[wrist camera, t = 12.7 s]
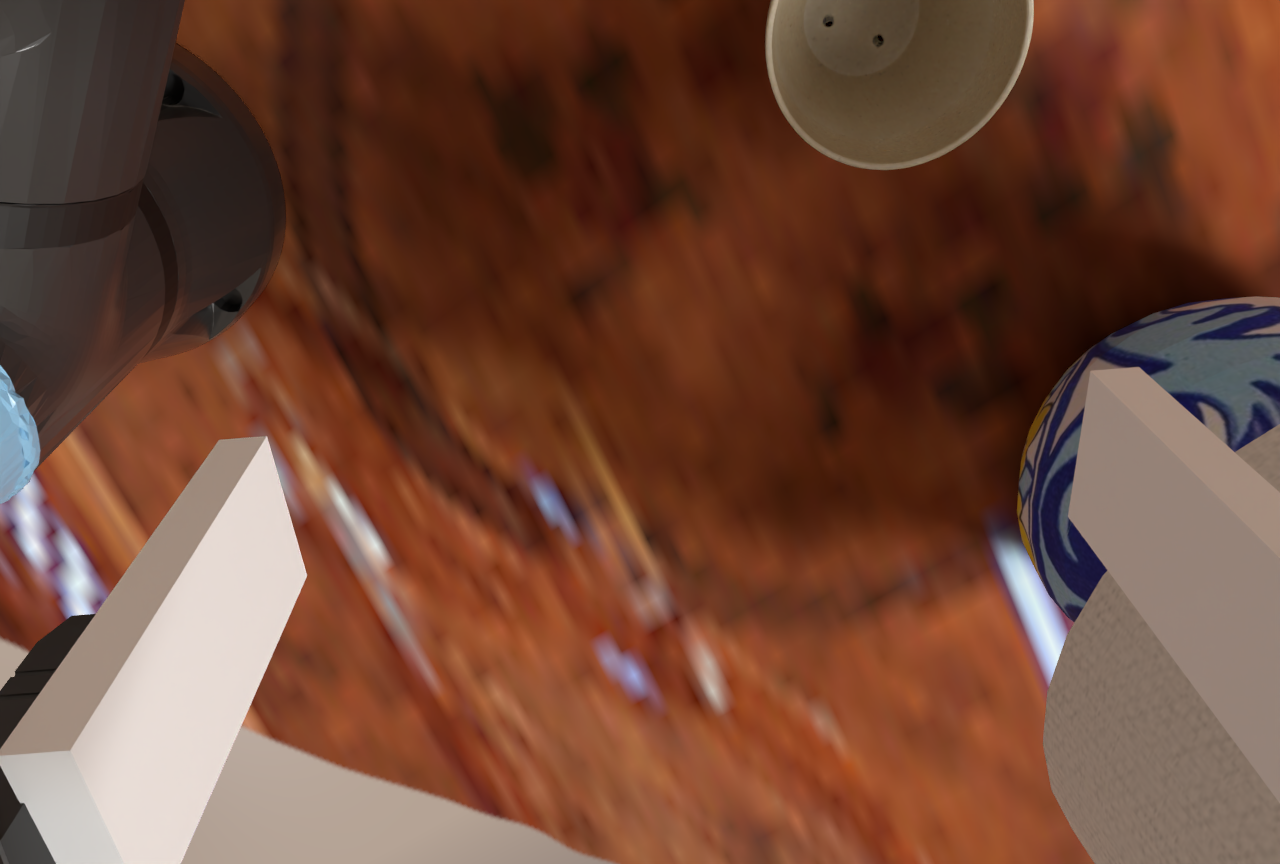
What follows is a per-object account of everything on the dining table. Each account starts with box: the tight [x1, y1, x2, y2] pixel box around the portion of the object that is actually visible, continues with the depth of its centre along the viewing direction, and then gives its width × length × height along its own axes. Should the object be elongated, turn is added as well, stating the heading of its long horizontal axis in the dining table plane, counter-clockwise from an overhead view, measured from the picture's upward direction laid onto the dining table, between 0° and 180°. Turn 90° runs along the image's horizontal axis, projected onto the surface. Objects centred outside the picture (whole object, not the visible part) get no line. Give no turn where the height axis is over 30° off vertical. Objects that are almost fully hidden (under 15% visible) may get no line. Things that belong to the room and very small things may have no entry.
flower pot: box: [765, 0, 1034, 170], centre depth 40 cm, size 10×10×7 cm
